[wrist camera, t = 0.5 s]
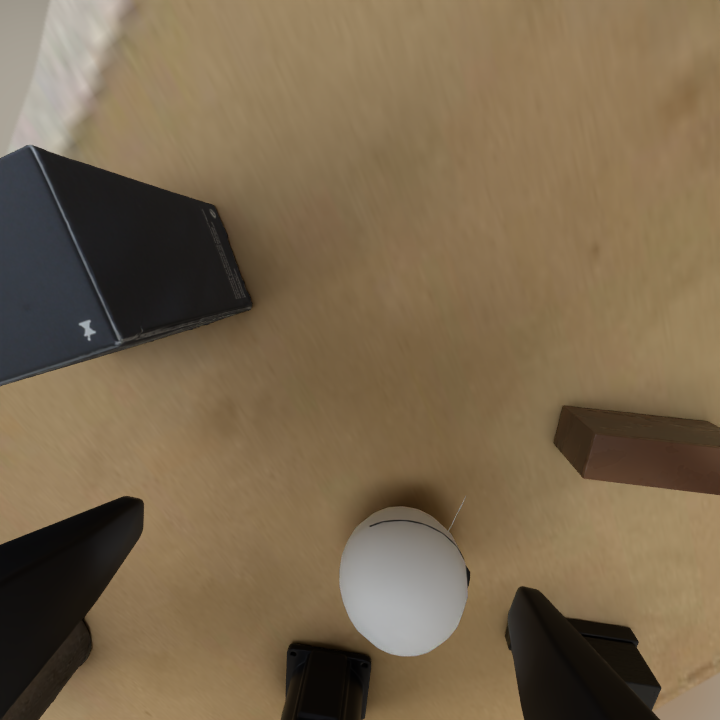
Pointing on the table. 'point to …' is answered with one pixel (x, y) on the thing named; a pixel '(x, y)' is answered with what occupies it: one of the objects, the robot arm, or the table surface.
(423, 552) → the seamed sphere
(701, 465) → the brown rectangular block
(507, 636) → the stapler
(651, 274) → the table surface
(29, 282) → the small box
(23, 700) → the pillar candle
